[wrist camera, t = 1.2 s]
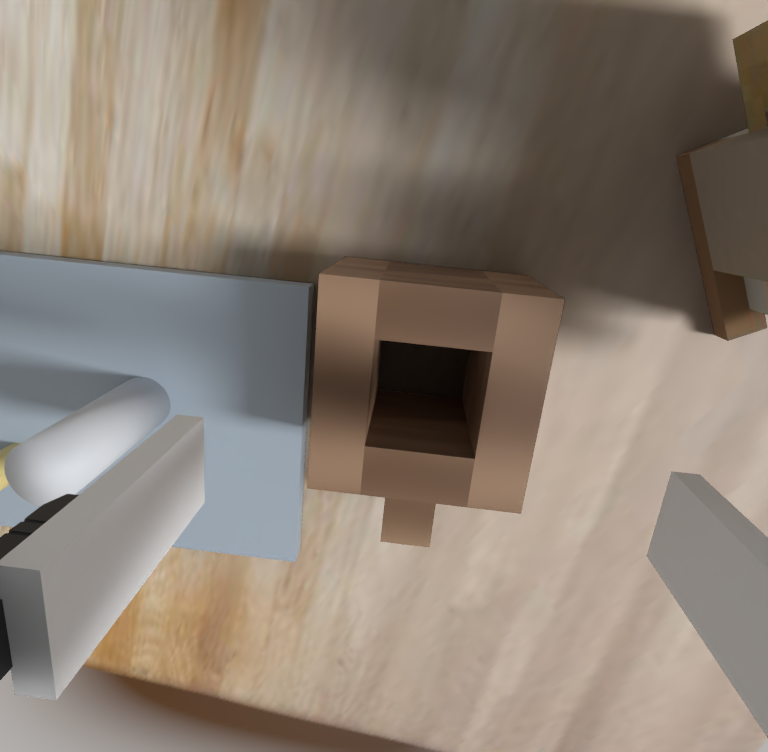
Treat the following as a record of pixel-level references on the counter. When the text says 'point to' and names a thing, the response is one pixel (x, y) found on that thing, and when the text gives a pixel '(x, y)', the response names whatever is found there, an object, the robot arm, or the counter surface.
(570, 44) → the counter surface
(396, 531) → the tabbed square frame
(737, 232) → the toy
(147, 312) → the post board
